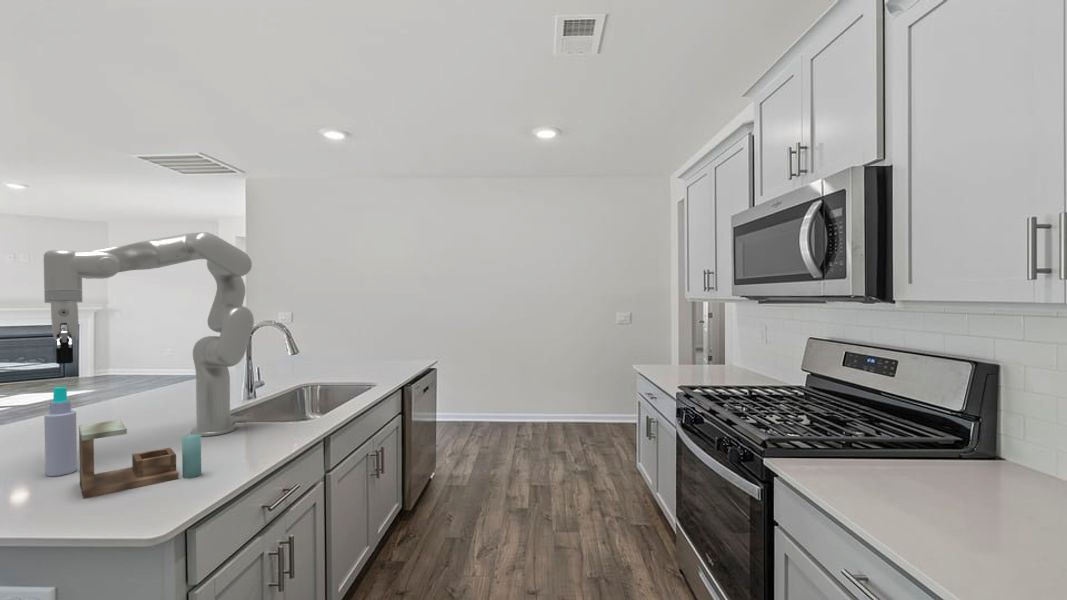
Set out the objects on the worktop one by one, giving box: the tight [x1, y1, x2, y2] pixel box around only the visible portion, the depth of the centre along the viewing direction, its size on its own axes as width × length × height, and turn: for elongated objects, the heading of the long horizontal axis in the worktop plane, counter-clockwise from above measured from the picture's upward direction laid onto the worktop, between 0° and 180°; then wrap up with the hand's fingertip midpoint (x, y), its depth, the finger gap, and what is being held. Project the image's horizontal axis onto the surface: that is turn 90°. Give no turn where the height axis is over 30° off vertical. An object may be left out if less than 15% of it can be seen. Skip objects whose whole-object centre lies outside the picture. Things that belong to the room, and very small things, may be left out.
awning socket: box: [78, 419, 179, 499], centre depth 129 cm, size 18×13×14 cm
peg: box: [181, 433, 202, 479], centre depth 133 cm, size 4×4×10 cm
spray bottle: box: [44, 386, 78, 477], centre depth 134 cm, size 6×6×22 cm
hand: (65, 361), depth 140 cm, fingers open, 9 cm apart
